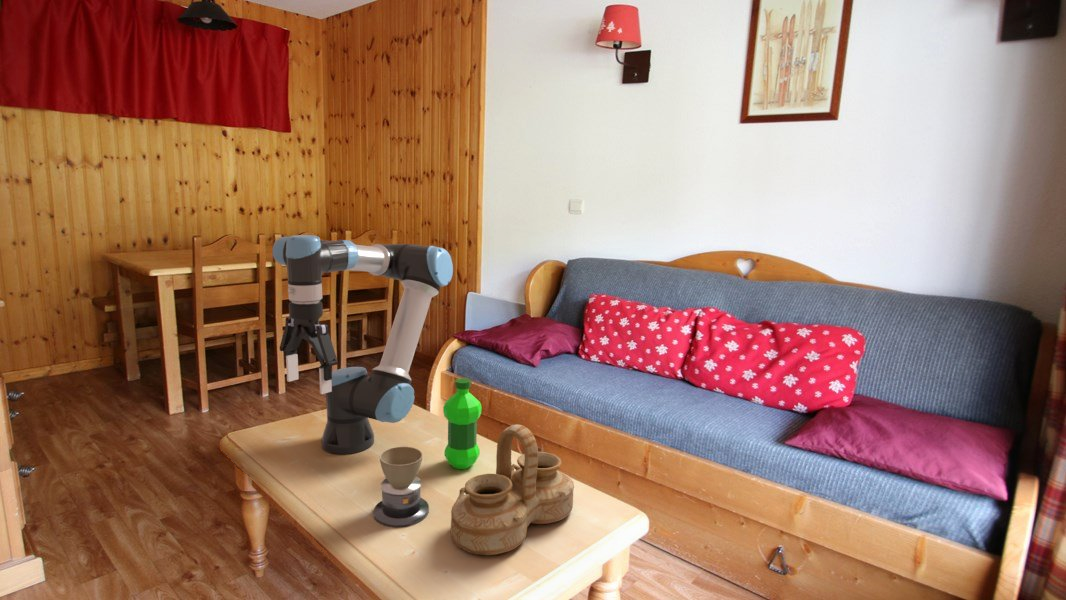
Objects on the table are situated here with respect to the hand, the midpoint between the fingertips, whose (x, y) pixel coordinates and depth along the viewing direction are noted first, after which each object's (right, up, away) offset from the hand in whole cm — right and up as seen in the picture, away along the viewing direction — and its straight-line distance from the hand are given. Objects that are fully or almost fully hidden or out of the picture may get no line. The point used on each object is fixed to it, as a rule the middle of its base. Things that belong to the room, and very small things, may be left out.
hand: (309, 386), depth 150 cm
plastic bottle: (+35, -26, +24) cm, 49 cm away
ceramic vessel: (+50, -32, -4) cm, 60 cm away
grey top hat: (+23, -30, -1) cm, 38 cm away
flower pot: (+23, -23, -3) cm, 33 cm away
